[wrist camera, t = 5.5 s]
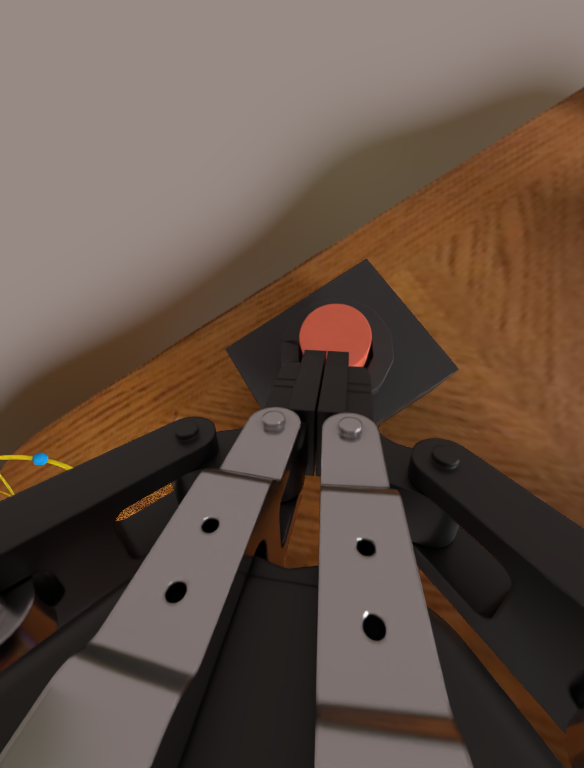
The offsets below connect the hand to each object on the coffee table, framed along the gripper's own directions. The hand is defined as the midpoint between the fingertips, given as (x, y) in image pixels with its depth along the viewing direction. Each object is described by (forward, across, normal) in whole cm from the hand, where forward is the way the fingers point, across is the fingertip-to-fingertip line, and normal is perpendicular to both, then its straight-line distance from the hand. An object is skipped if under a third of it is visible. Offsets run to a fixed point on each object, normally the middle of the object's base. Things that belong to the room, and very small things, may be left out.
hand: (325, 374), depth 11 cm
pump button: (+9, 0, +3) cm, 9 cm away
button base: (+14, 0, +9) cm, 17 cm away
